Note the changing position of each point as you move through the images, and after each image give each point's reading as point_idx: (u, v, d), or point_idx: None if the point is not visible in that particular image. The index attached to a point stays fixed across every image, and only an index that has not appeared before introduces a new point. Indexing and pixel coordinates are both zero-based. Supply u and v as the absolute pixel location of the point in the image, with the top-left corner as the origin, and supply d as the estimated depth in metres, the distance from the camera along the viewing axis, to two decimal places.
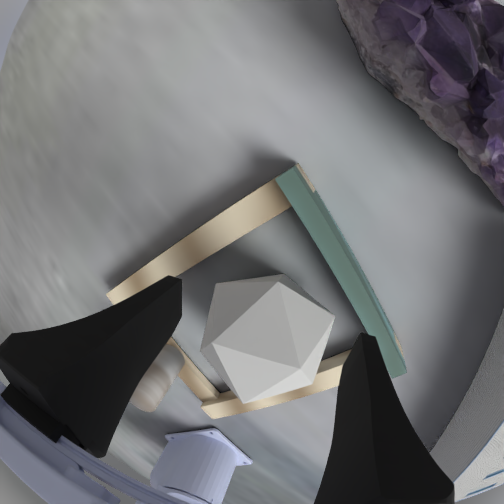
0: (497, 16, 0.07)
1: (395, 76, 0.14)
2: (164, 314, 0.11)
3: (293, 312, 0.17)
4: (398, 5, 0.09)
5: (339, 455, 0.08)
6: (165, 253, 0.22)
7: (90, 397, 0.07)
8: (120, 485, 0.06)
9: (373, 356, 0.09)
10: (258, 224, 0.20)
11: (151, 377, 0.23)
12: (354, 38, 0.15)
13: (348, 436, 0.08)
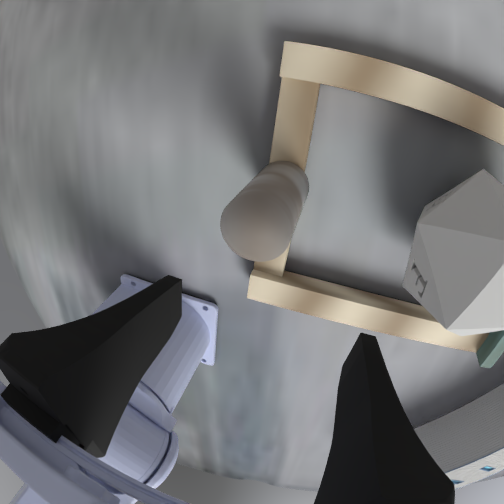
0: None
1: None
2: (164, 314, 0.11)
3: None
4: None
5: (339, 455, 0.08)
6: (444, 83, 0.12)
7: (90, 397, 0.07)
8: (120, 485, 0.06)
9: (373, 356, 0.09)
10: None
11: (295, 204, 0.14)
12: None
13: (348, 436, 0.08)
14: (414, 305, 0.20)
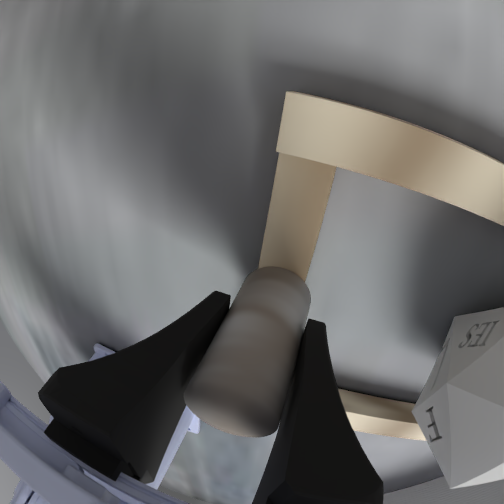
0: None
1: None
2: (214, 332, 0.11)
3: None
4: None
5: (278, 441, 0.08)
6: None
7: (150, 429, 0.07)
8: (120, 485, 0.06)
9: (316, 341, 0.10)
10: None
11: (288, 370, 0.09)
12: None
13: (286, 422, 0.08)
14: None
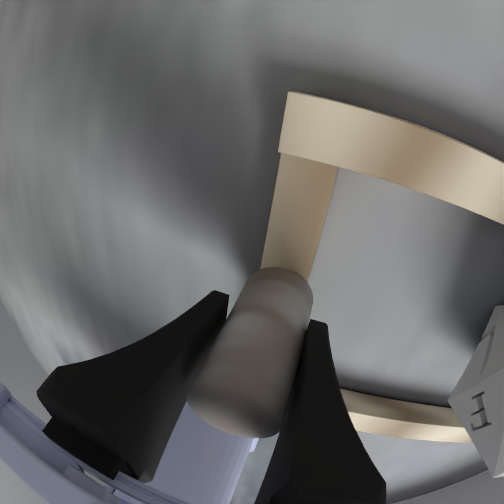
0: None
1: None
2: (213, 332, 0.11)
3: None
4: None
5: (280, 442, 0.08)
6: None
7: (148, 428, 0.07)
8: (120, 485, 0.06)
9: (318, 342, 0.10)
10: None
11: (291, 371, 0.09)
12: None
13: (288, 422, 0.08)
14: (423, 406, 0.15)
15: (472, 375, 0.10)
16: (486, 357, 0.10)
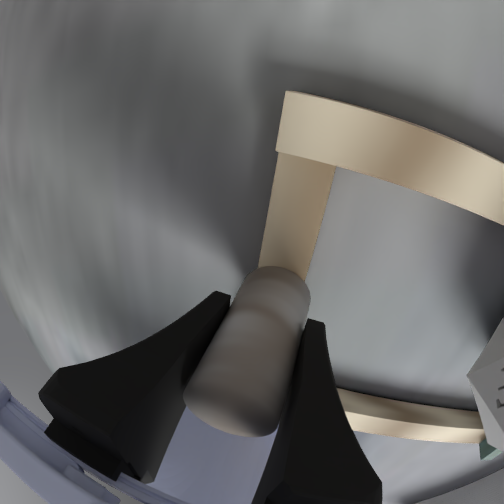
0: None
1: None
2: (214, 332, 0.11)
3: None
4: None
5: (277, 441, 0.08)
6: None
7: (151, 429, 0.07)
8: (120, 485, 0.06)
9: (315, 341, 0.10)
10: None
11: (288, 370, 0.09)
12: None
13: (285, 421, 0.08)
14: (421, 406, 0.15)
15: (500, 347, 0.09)
16: None
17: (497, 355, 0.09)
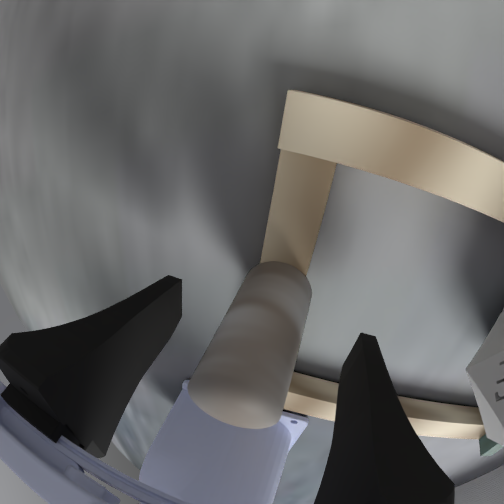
0: None
1: None
2: (164, 314, 0.11)
3: None
4: None
5: (339, 455, 0.08)
6: None
7: (90, 397, 0.07)
8: (120, 485, 0.06)
9: (373, 356, 0.09)
10: None
11: (290, 362, 0.09)
12: None
13: (348, 436, 0.08)
14: (421, 402, 0.16)
15: (499, 341, 0.09)
16: None
17: (495, 349, 0.09)
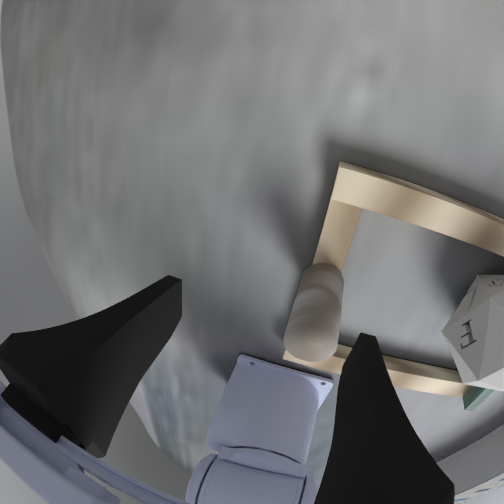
0: None
1: None
2: (164, 314, 0.11)
3: None
4: None
5: (339, 455, 0.08)
6: (467, 212, 0.15)
7: (90, 397, 0.07)
8: (120, 485, 0.06)
9: (373, 356, 0.09)
10: None
11: (339, 319, 0.17)
12: None
13: (348, 436, 0.08)
14: (416, 363, 0.23)
15: (461, 312, 0.17)
16: (471, 301, 0.17)
17: (459, 317, 0.17)
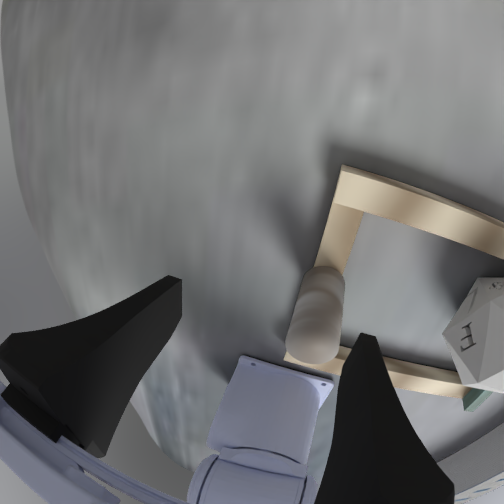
0: None
1: None
2: (164, 314, 0.11)
3: None
4: None
5: (339, 455, 0.08)
6: (469, 215, 0.15)
7: (90, 397, 0.07)
8: (120, 485, 0.06)
9: (373, 356, 0.09)
10: None
11: (340, 322, 0.17)
12: None
13: (348, 436, 0.08)
14: (416, 365, 0.23)
15: (461, 315, 0.17)
16: (471, 304, 0.17)
17: (459, 319, 0.17)
